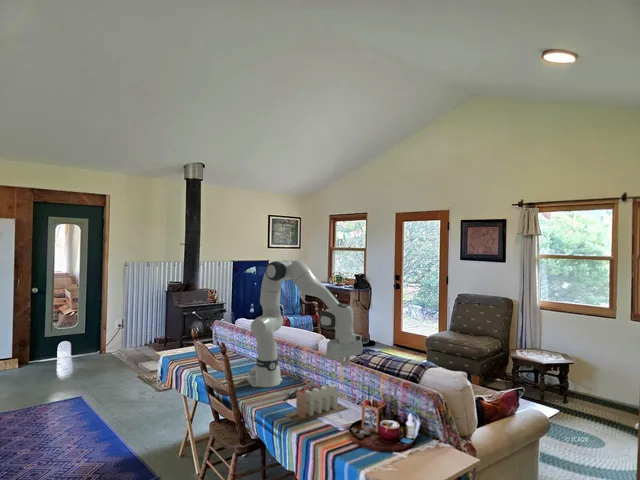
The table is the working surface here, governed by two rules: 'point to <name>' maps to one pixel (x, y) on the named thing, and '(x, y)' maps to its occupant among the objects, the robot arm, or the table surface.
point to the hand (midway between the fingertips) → (344, 365)
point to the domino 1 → (301, 404)
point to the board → (316, 415)
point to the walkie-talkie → (300, 389)
